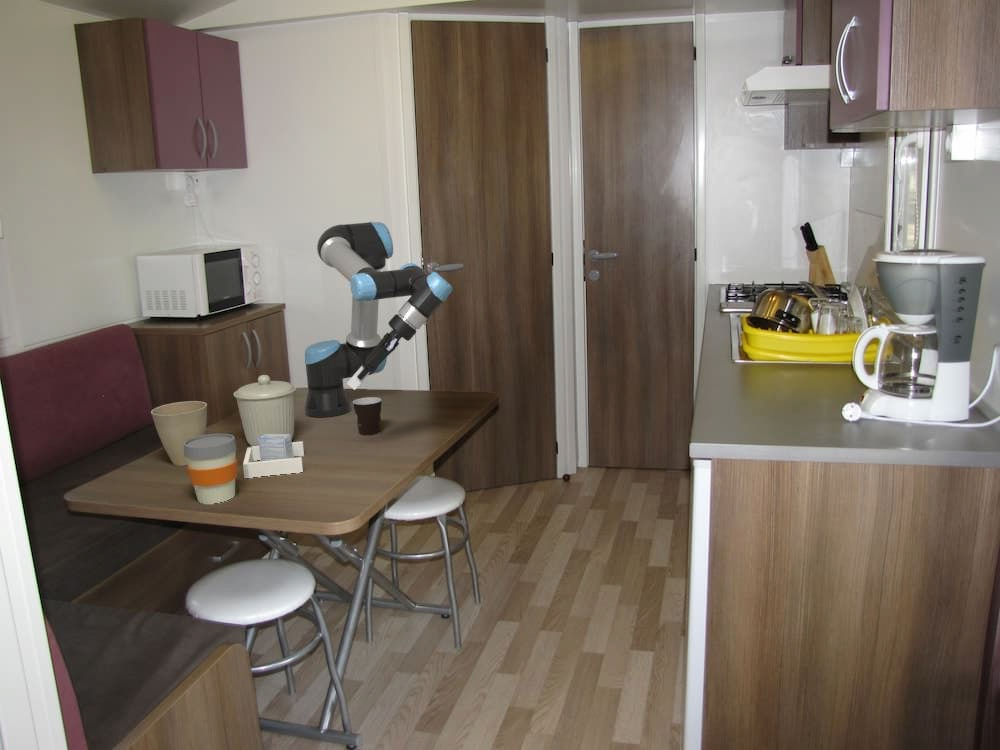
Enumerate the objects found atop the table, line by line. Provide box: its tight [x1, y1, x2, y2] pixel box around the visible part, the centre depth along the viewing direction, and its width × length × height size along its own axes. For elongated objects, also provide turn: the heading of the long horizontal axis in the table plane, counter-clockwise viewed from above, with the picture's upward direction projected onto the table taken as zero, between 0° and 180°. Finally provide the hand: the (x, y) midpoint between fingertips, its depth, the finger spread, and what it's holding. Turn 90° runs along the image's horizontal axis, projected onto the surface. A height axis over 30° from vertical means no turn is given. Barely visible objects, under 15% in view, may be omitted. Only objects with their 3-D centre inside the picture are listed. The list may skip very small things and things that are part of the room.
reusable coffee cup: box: [184, 432, 238, 505], centre depth 226 cm, size 13×13×15 cm
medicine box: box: [258, 434, 294, 461], centre depth 250 cm, size 8×4×9 cm, turn 77°
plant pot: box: [150, 400, 208, 467], centre depth 256 cm, size 15×15×16 cm
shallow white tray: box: [242, 440, 305, 479], centre depth 250 cm, size 16×15×4 cm
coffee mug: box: [352, 396, 382, 436], centre depth 279 cm, size 12×9×10 cm
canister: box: [233, 374, 297, 447], centre depth 269 cm, size 18×18×21 cm
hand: (350, 386), depth 249 cm, fingers closed
